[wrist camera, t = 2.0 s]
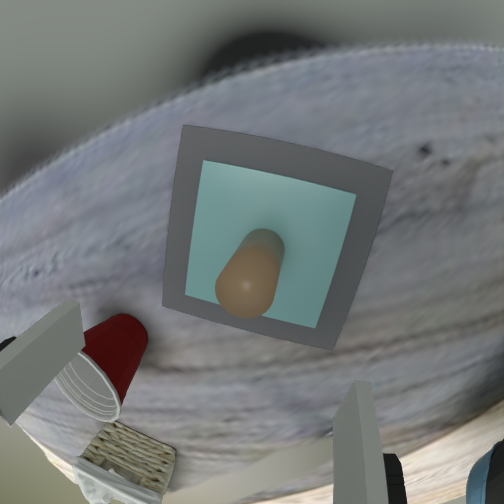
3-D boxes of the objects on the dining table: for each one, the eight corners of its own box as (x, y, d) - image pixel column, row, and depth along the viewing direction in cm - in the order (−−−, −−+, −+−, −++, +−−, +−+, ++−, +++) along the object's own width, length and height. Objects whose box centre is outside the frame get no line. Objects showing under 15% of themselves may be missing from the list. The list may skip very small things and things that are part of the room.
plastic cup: (108, 277, 35) (45, 325, 23) (177, 329, 35) (132, 396, 24) (89, 330, 39) (39, 378, 27) (148, 375, 39) (109, 434, 28)
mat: (391, 170, 25) (392, 170, 25) (332, 348, 32) (332, 350, 32) (184, 125, 27) (183, 124, 27) (163, 304, 34) (162, 305, 34)
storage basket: (105, 410, 45) (66, 464, 32) (185, 447, 44) (157, 512, 31) (111, 459, 54) (85, 502, 40) (172, 487, 53) (152, 534, 39)
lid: (354, 193, 26) (379, 216, 17) (314, 323, 31) (314, 388, 22) (206, 159, 28) (158, 166, 18) (188, 290, 32) (146, 342, 23)
